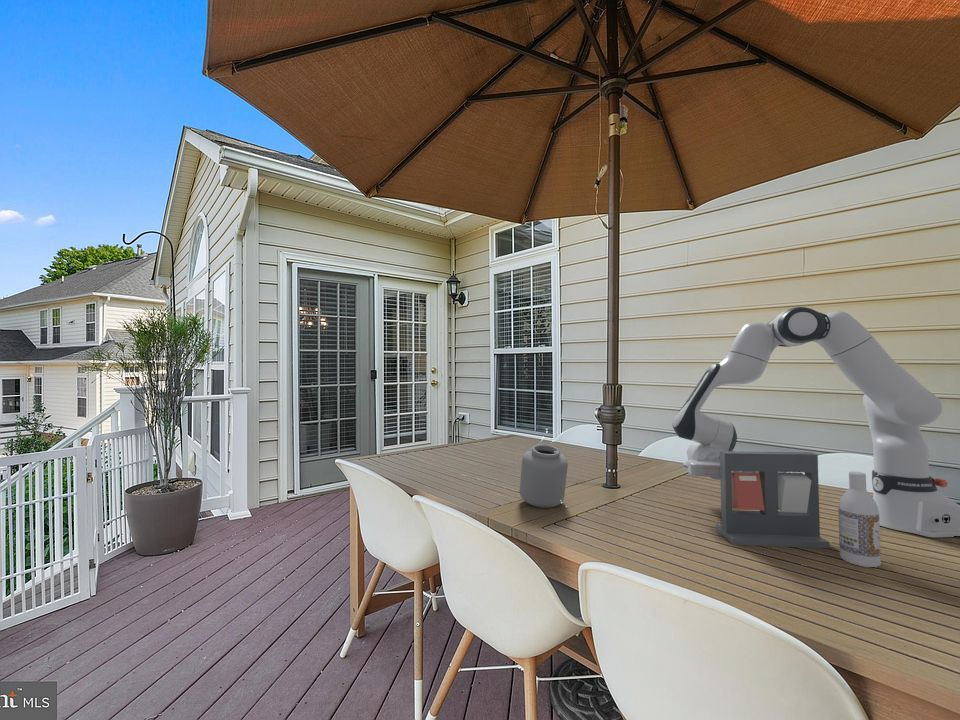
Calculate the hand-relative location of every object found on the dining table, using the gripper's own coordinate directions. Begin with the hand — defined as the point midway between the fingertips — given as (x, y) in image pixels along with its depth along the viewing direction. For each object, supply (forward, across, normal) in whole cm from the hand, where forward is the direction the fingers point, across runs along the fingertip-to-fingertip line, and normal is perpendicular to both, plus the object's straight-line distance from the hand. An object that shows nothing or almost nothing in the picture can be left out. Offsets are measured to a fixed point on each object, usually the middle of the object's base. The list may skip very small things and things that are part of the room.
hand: (737, 475), depth 117 cm
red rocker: (+6, 0, +7) cm, 9 cm away
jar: (-17, -52, +15) cm, 56 cm away
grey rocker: (+4, +11, +7) cm, 14 cm away
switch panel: (+5, +5, +15) cm, 17 cm away
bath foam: (+17, +18, +15) cm, 29 cm away
